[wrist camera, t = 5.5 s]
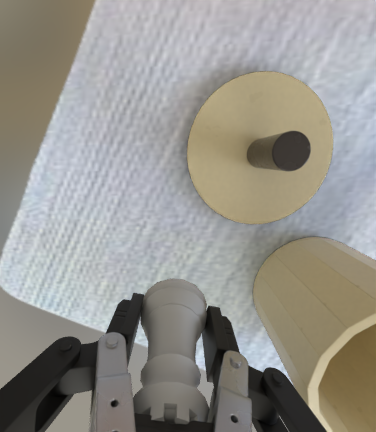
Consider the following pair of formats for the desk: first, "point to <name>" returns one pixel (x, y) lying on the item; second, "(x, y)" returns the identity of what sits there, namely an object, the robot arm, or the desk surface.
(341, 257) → the tin
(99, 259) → the desk surface
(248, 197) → the cream disc with rod
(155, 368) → the rook chess piece
